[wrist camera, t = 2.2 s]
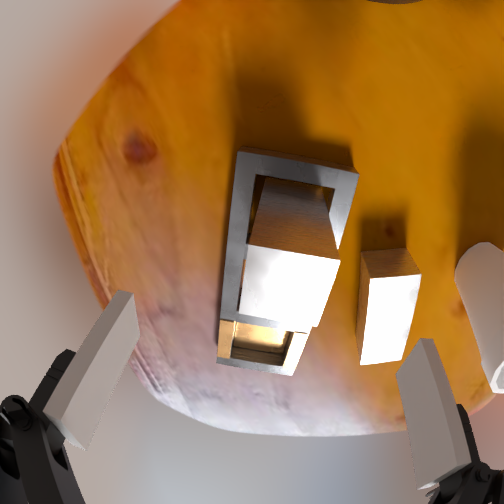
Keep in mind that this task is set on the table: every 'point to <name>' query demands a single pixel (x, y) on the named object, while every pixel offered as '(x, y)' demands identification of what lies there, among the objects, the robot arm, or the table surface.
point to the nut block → (385, 304)
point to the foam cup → (485, 305)
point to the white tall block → (289, 255)
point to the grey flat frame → (248, 327)
